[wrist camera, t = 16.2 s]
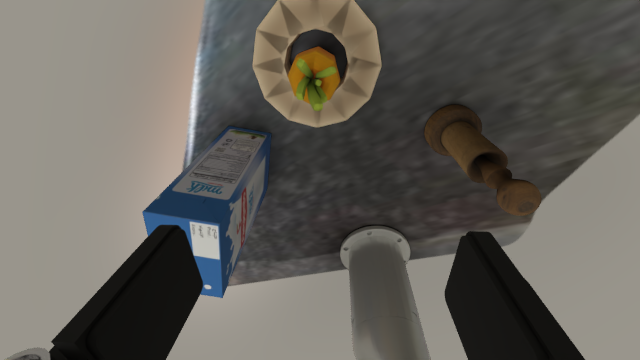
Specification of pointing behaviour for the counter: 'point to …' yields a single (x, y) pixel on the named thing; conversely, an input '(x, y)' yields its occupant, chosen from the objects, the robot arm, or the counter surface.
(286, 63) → the faceted beige ring
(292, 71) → the carrot
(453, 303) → the robot arm
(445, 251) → the counter surface
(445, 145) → the brown tall rounded piece
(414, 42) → the counter surface
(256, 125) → the counter surface
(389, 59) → the counter surface
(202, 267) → the milk carton
